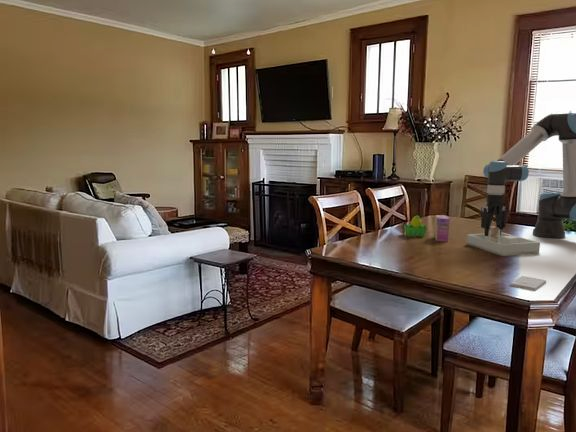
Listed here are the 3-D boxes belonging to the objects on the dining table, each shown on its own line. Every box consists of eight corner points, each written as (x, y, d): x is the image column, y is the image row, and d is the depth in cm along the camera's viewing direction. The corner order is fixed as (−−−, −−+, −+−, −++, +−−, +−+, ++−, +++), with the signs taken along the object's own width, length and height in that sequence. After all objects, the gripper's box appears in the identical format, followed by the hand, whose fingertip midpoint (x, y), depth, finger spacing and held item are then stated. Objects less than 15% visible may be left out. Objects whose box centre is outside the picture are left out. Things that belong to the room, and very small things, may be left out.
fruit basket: (425, 234, 250) (426, 214, 248) (427, 237, 241) (428, 216, 239) (403, 233, 252) (404, 213, 250) (404, 237, 243) (405, 215, 241)
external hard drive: (545, 284, 163) (534, 292, 154) (521, 279, 168) (509, 287, 160) (546, 280, 163) (535, 287, 154) (521, 275, 168) (509, 282, 159)
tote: (501, 242, 230) (502, 232, 229) (539, 253, 207) (540, 242, 206) (466, 244, 225) (467, 234, 224) (501, 255, 202) (501, 244, 201)
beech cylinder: (492, 242, 225) (493, 226, 224) (499, 244, 220) (501, 228, 219) (483, 243, 224) (485, 226, 222) (490, 245, 219) (492, 228, 218)
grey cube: (509, 247, 214) (510, 235, 213) (518, 249, 209) (519, 238, 208) (499, 248, 213) (500, 236, 212) (508, 250, 208) (509, 238, 207)
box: (448, 241, 231) (449, 218, 229) (436, 241, 232) (437, 218, 231) (445, 237, 241) (446, 215, 240) (434, 237, 242) (435, 215, 241)
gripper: (505, 192, 224) (502, 240, 228) (474, 193, 220) (471, 241, 223) (517, 194, 217) (513, 243, 220) (485, 195, 212) (481, 245, 216)
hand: (492, 242), depth 222 cm, fingers closed on beech cylinder, 4 cm apart
